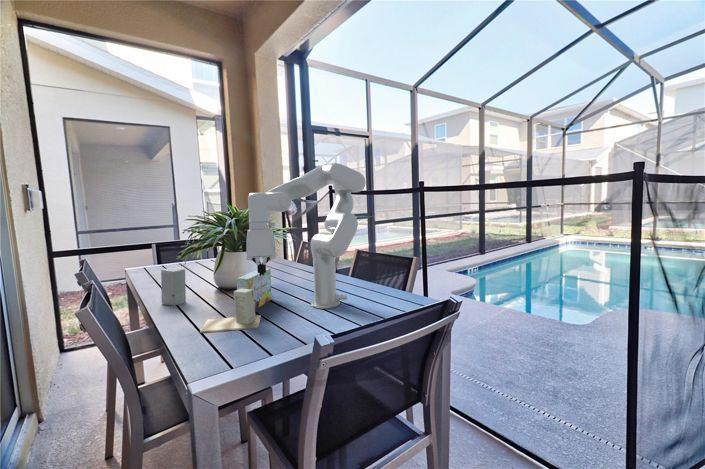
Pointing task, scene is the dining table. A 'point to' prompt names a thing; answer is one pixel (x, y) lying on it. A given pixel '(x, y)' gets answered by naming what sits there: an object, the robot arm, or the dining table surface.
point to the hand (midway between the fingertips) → (262, 274)
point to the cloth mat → (228, 324)
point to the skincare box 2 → (244, 306)
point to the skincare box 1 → (173, 286)
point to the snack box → (257, 286)
